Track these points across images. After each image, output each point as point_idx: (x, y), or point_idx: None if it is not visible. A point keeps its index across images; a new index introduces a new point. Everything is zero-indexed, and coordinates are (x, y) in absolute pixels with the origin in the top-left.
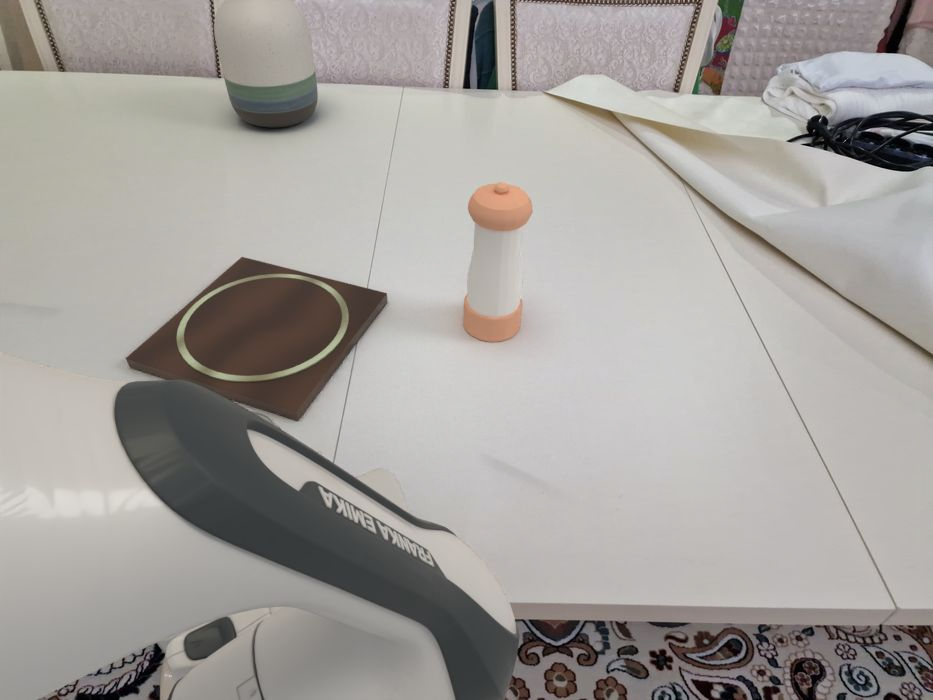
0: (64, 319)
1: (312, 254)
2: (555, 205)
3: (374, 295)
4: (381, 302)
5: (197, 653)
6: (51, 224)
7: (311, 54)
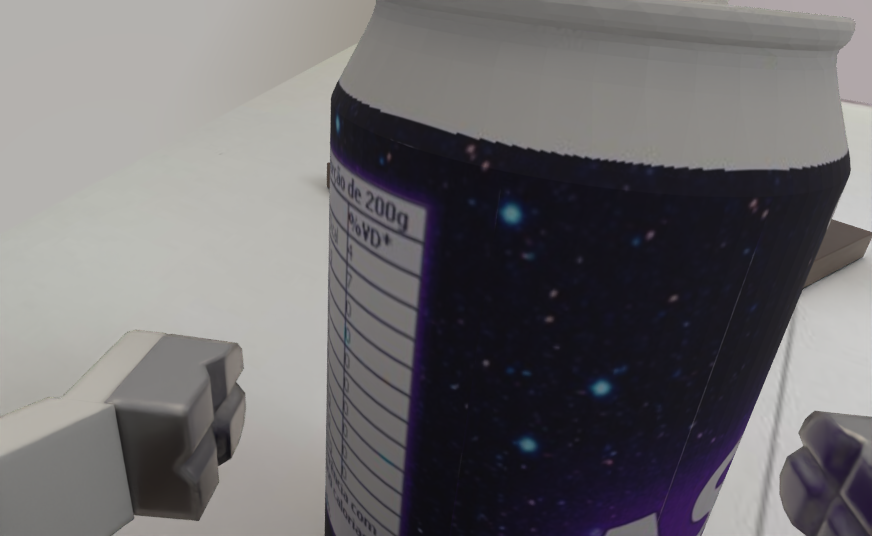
0: (288, 129)
1: None
2: None
3: (842, 227)
4: (860, 243)
5: None
6: None
7: (727, 2)
